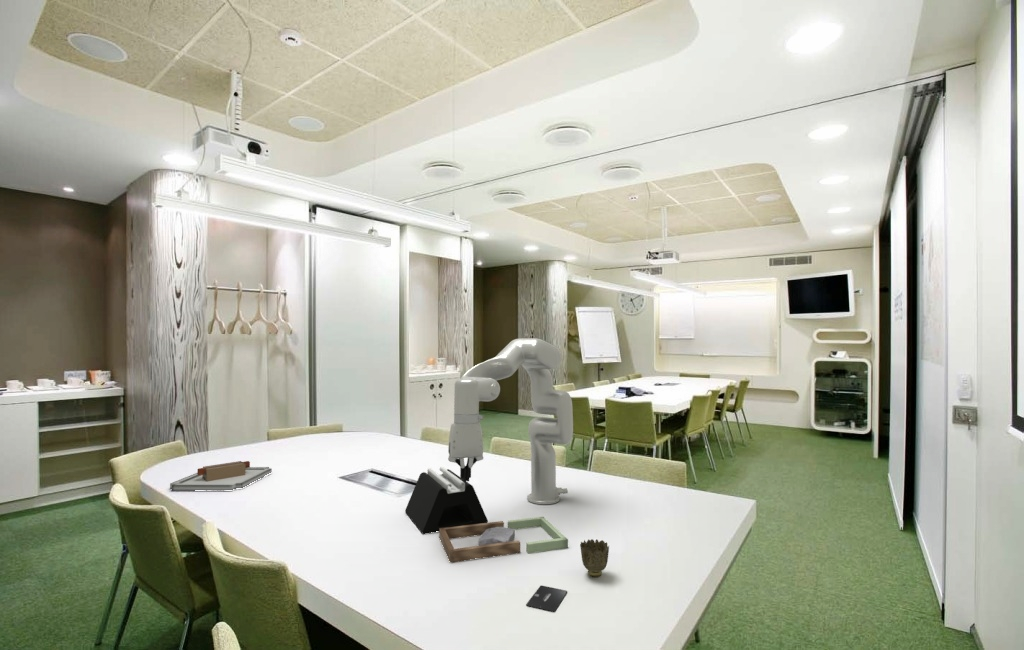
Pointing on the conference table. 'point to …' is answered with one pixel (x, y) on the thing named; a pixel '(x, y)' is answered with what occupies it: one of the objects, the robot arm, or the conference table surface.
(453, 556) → the brown wooden u frame
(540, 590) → the solid state drive
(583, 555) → the cup
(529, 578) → the conference table surface
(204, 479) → the grey flat square tray
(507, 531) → the stone block
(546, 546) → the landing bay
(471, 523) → the device stand
